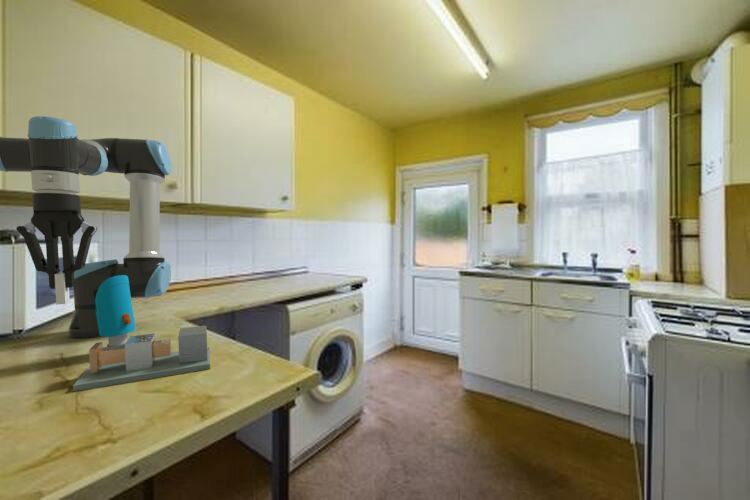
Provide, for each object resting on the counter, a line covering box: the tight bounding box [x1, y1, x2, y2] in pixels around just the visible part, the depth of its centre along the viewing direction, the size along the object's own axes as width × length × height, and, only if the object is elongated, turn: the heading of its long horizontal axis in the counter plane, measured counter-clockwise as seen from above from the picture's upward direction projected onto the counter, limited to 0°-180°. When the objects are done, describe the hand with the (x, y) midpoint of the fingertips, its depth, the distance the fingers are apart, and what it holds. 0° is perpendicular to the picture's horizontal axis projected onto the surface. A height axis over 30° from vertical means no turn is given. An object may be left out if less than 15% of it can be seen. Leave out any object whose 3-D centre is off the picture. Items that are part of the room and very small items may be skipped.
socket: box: [177, 325, 208, 365], centre depth 86 cm, size 8×6×7 cm
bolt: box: [88, 338, 172, 373], centre depth 81 cm, size 5×15×5 cm, turn 116°
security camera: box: [93, 275, 137, 347], centre depth 93 cm, size 8×21×10 cm
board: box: [72, 346, 211, 392], centre depth 83 cm, size 13×26×1 cm, turn 116°
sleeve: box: [125, 333, 156, 372], centre depth 82 cm, size 7×5×6 cm
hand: (63, 303), depth 75 cm, fingers closed
